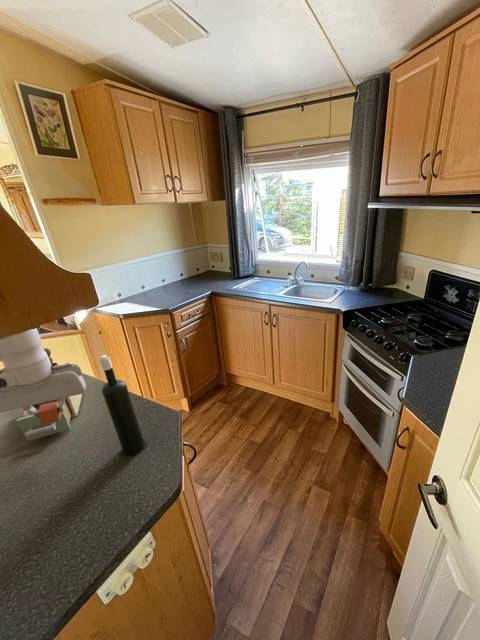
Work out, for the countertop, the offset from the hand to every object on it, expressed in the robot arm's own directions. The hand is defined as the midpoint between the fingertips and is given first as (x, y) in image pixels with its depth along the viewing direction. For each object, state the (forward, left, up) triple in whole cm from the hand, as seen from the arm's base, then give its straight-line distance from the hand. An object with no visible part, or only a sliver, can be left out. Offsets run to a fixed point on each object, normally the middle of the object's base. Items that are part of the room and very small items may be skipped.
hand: (50, 413), depth 80 cm
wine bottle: (+18, -9, -13) cm, 24 cm away
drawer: (-6, +13, -12) cm, 18 cm away
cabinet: (-6, +24, -13) cm, 27 cm away
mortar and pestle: (-8, +40, -13) cm, 42 cm away
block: (0, 0, -2) cm, 2 cm away
